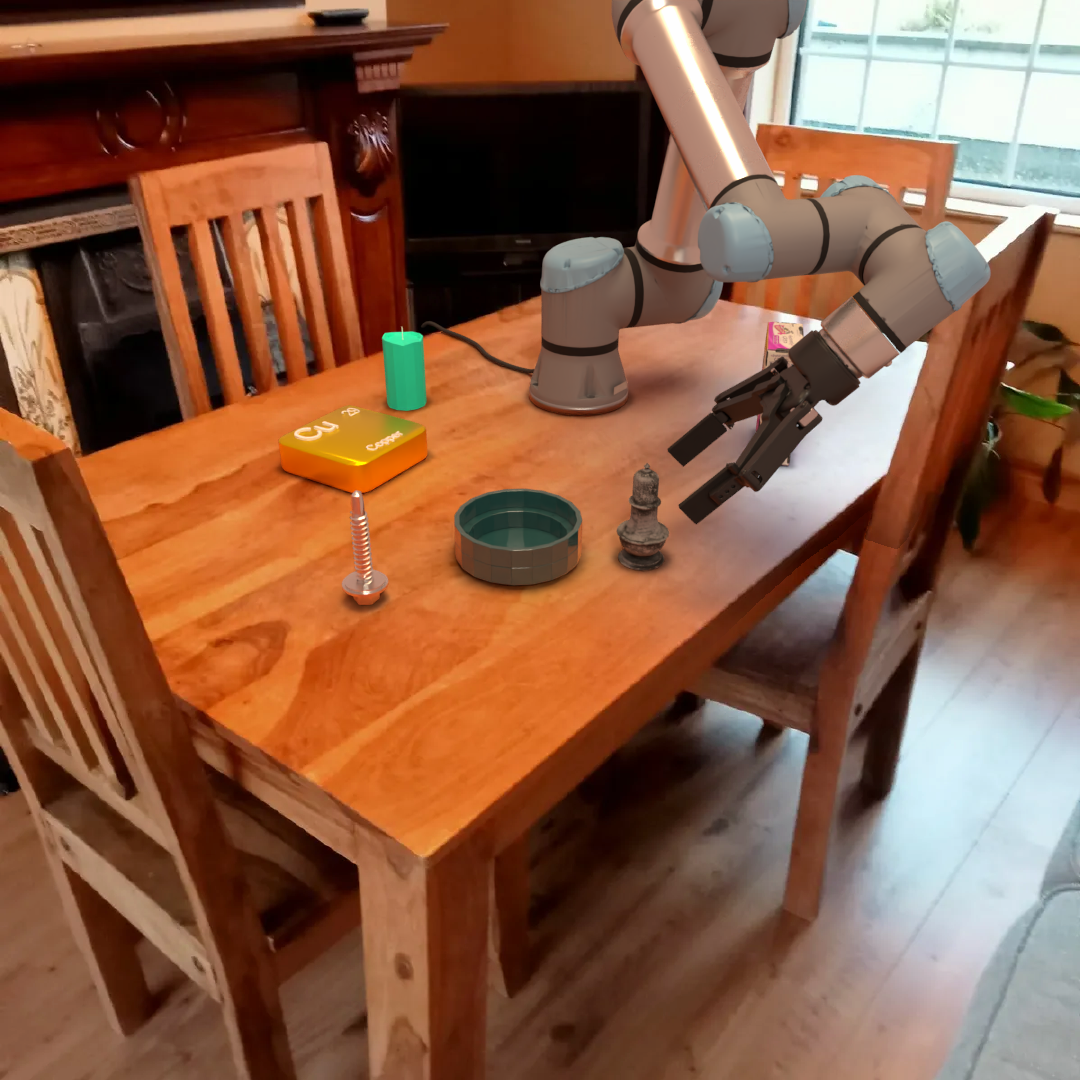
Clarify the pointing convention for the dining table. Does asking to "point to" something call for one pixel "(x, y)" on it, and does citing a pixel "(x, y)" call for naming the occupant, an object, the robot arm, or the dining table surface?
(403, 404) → the candle
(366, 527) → the screw
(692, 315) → the robot arm
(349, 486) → the element tile
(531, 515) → the bowl
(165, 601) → the dining table surface
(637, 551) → the salt shaker
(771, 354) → the candy bar box
